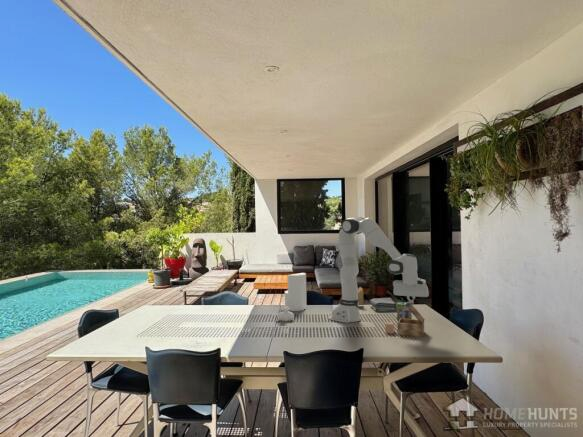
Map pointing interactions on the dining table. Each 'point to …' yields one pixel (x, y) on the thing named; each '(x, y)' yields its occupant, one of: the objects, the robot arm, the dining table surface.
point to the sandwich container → (360, 296)
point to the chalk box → (403, 311)
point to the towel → (383, 304)
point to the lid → (415, 312)
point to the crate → (410, 327)
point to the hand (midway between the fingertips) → (411, 303)
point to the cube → (389, 327)
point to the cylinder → (296, 292)
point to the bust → (285, 314)
